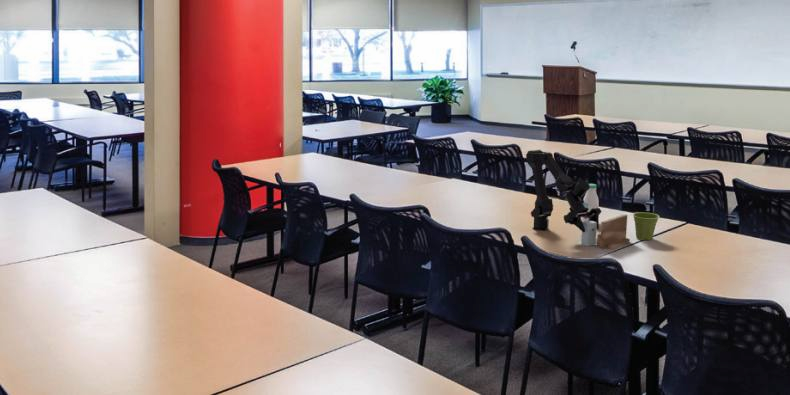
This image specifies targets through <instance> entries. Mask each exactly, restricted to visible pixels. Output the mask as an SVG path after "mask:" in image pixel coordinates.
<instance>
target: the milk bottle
mask: <svg viewBox="0 0 790 395" xmlns="http://www.w3.org/2000/svg"><path fill="white" fill-rule="evenodd" d="M588 184H589V186H590V188H589V190H588V191H587V192H586V193H585V194H584V197H583V200H584V203H583V204H584V206H585V208H588V209H589V210H588V211H587V212H589V211H590V210H591V209H592V208H600V206H599V201H600V200H599V196H598V194H597V184H595V183H588ZM581 220H582V222H585V221H588V220H589V218H588V217H587V216H586V217H581Z"/></svg>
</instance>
